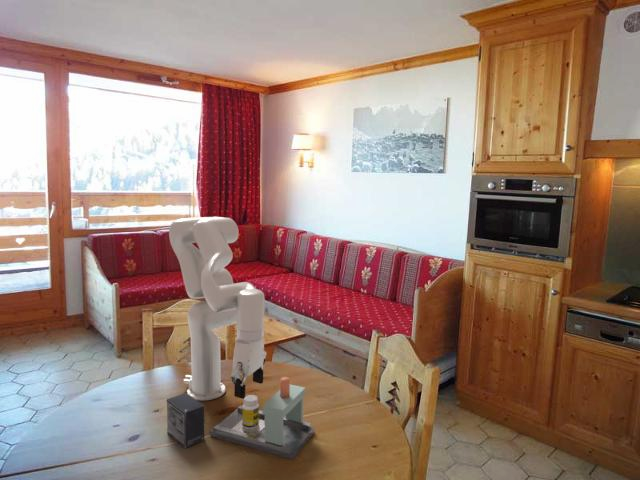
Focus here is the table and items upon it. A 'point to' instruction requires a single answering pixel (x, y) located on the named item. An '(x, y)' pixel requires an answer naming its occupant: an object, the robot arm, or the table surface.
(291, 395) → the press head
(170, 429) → the small box
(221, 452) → the table surface
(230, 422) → the base
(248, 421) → the supplement bottle
